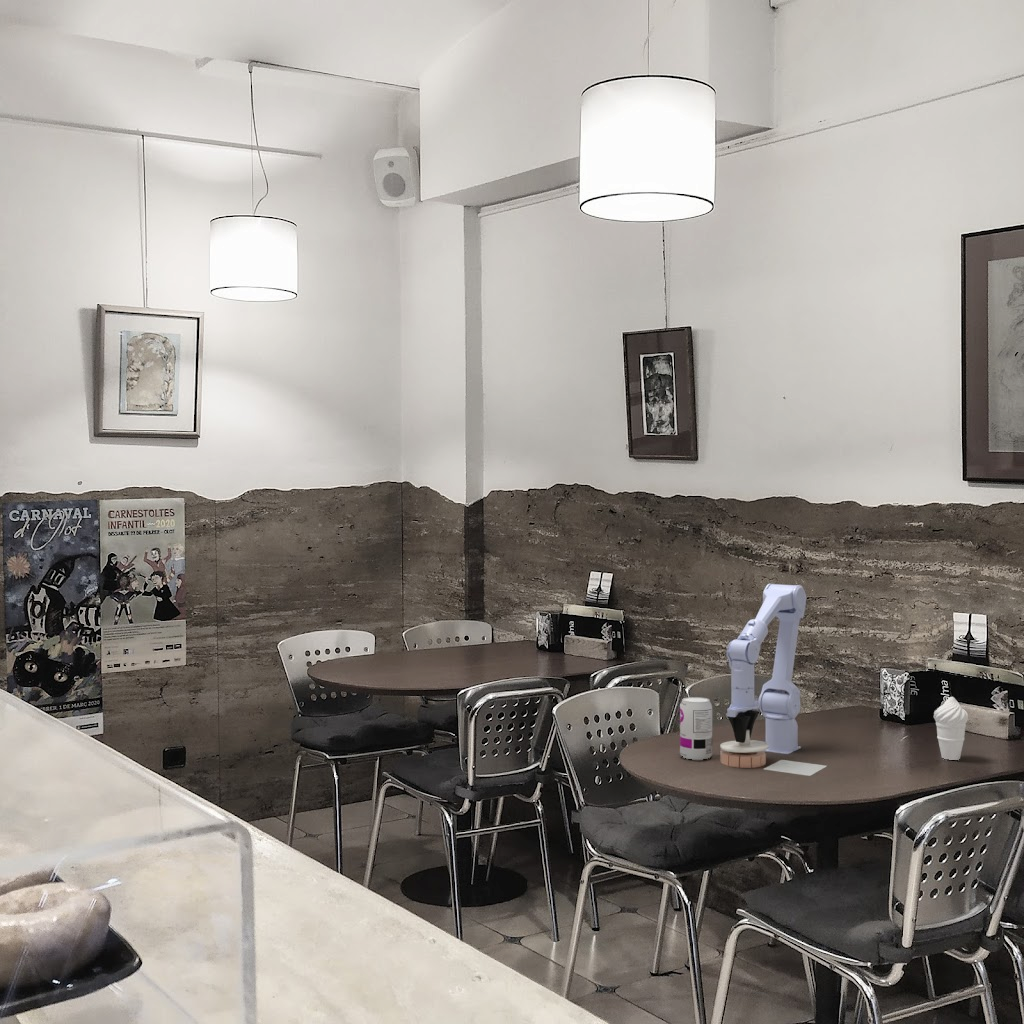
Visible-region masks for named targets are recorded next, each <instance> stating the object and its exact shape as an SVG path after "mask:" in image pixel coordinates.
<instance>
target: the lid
mask: <svg viewBox="0 0 1024 1024" xmlns="http://www.w3.org/2000/svg"><path fill="white" fill-rule="evenodd" d="M719 745H720V750H724V751H728V752H740V753H747V752H759V751H764V750H767V749H768V748H769V744H768V743H767V742H766V741H763V740H755V739H754V740H753V739H752V740H751V738H750V734H749V730H746V739H745V742H744V743H741V742H736V740H727V741H725V742H722V743H720V744H719Z"/></svg>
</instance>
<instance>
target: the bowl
mask: <svg viewBox="0 0 1024 1024" xmlns="http://www.w3.org/2000/svg"><path fill="white" fill-rule="evenodd" d="M719 755H720V756H719V758H720V763H721V764H722V765H724V766H727V767H732V768H740V769H741V768H743V769H744V768H746V769H747V768H748V769H749V768H750V769H752V768H761V767H763V766H765V765H766V764H767V753H766V751H759V752H747V753H740V752H728V751H724V750H722V749H720V754H719Z"/></svg>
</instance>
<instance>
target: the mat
mask: <svg viewBox="0 0 1024 1024" xmlns="http://www.w3.org/2000/svg"><path fill="white" fill-rule="evenodd" d="M827 767H828V765H823V764H817V763H810V762H802V761H793V760H787V759H786V760H785V759H780V760H778V761H776V762H774V763H772V764H770V765H768V766H766V767H764V768H763V770H765V771H772V772H778V773H786V774H793V775H799V776H808V777H811V776H813V775H814V774H816V773H818V772H820V771H821V770H823V769H825V768H827Z"/></svg>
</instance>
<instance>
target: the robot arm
mask: <svg viewBox="0 0 1024 1024" xmlns="http://www.w3.org/2000/svg"><path fill="white" fill-rule="evenodd" d="M806 604H807V594H806V591H805V588H804V587H803V586H802V585H801V584H797V585H792V584H780V583H779V584H778V583H777V584H775V583H767V585H766V586H765V588H764V589H763V593H762V605H761V606H760V608H759V610H758V613H757V614H756V617H755V618H753V619H752V618H751V619H750V620H748V621H747V623H746V624H745V626H744V628H743V629H742V631H741V632H740V634H739V635H738V637H737V639H736V638H735V639H733V640H731V641H730V642H729V643H728V644H727V648H726V651H725V653H726V657H727V660H728V666H729V669H730V671H731V672H730V673H731V674H730V675H731V678H730V681H731V682H730V683H731V684H730V685H731V689H730V690H731V691H730V693H731V694H730V695H731V698H730V699H731V700H730V701H731V703H730V705H729V707H728V708H727V710H726V711H727V712H726V716H727V719H728V721H729V723H730V724H731V725H730V726H731V728H732V731H733V736H734V739H735V740H734V741H736V742H741V743H744V742H745V739H746V730H749V734H750V739H751V737H752V733H753V729H754V724H755V722H756V719H757V718H758V716H759V711H760V713H761V714H762V717H765V742H767V743H768V744H769V748H768V749H767V750H764V751H765V752H768V753H770V752H771V753H775V754H785V755H790V754H791V753H794V752H795V751H797V750H799V749H800V750H801V749H802V746H799V745H798V743H799V741H798V740H799V739H798V737H799V736H798V733H799V731H798V730H799V729H798V722H797V720H796V717H797V716H798V715H799V713H800V710H801V690H800V688H798V686H797V685H795V683H793V681H792V679H793V672H794V666H795V658H796V649H797V643H798V636H799V635H798V634H799V628H800V627H799V626H800V620H801V619H802V618H804V616H805V612H806ZM775 617H776V618H778V620H779V625H778V632H777V633H778V634H777V639H776V640H777V641H776V648H775V655H774V662H773V668H772V669H773V670H772V674H771V675H772V676H771V678H770V680H768V681H766V682H765V683H764V684H763V685H762V688H761V691H760V694H759V696H758V700H756V699H755V663H757V661H758V659H759V656H760V651H761V645H762V643H763V641H764V640H765V638H766V637H767V636H768V634H769V628H768V626H769V625H770V623H771V622H772V620H773V619H774V618H775ZM758 709H759V711H757V710H758Z"/></svg>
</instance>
